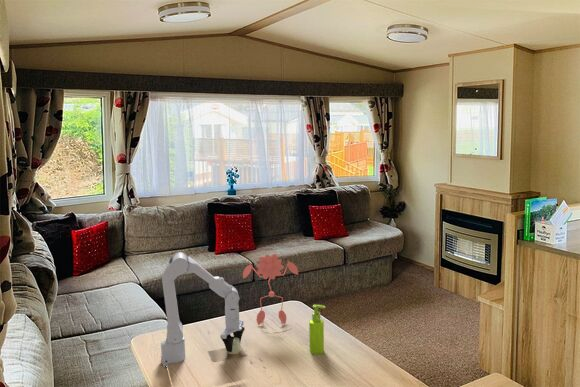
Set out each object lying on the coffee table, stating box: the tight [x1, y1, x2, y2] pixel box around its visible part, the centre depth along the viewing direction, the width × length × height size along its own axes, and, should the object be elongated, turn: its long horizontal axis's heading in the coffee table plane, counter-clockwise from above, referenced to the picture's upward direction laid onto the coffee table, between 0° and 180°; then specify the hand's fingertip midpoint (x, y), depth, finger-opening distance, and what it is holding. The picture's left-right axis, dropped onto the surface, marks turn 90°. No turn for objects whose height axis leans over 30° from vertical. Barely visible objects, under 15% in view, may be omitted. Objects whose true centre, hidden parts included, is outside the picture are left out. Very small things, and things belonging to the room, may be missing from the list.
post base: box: [207, 344, 247, 363], centre depth 201 cm, size 14×10×4 cm
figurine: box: [242, 253, 299, 334], centre depth 226 cm, size 15×26×35 cm, turn 90°
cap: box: [228, 336, 241, 354], centre depth 203 cm, size 5×5×5 cm
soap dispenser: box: [308, 304, 327, 355], centre depth 202 cm, size 6×7×20 cm
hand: (233, 347), depth 203 cm, fingers open, 6 cm apart
